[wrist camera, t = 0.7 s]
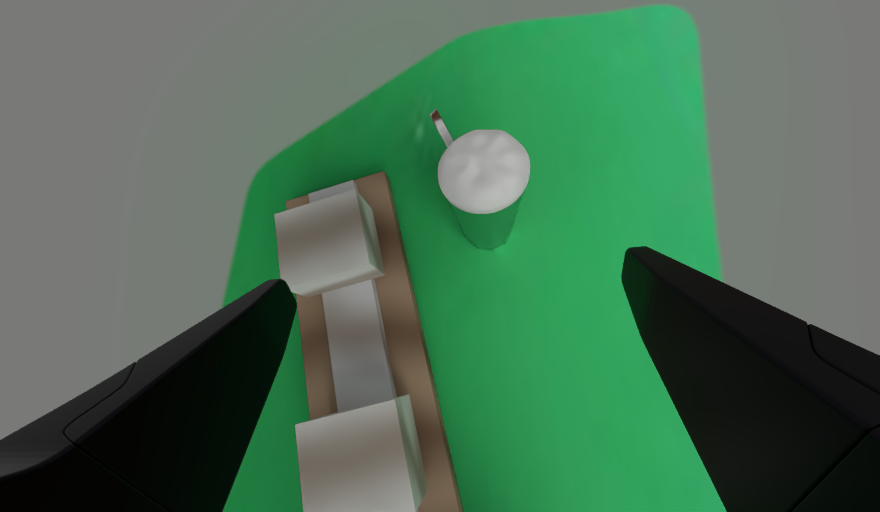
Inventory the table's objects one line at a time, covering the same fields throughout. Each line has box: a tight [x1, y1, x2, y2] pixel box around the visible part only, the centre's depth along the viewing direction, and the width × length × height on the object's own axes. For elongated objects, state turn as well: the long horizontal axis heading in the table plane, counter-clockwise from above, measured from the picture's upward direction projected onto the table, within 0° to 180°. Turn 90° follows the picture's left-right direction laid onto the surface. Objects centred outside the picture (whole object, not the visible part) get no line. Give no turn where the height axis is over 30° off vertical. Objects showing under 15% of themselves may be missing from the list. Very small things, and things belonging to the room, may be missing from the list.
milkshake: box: [430, 109, 530, 250], centre depth 20 cm, size 4×5×10 cm
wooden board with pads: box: [274, 171, 463, 512], centre depth 22 cm, size 24×8×5 cm, turn 14°
